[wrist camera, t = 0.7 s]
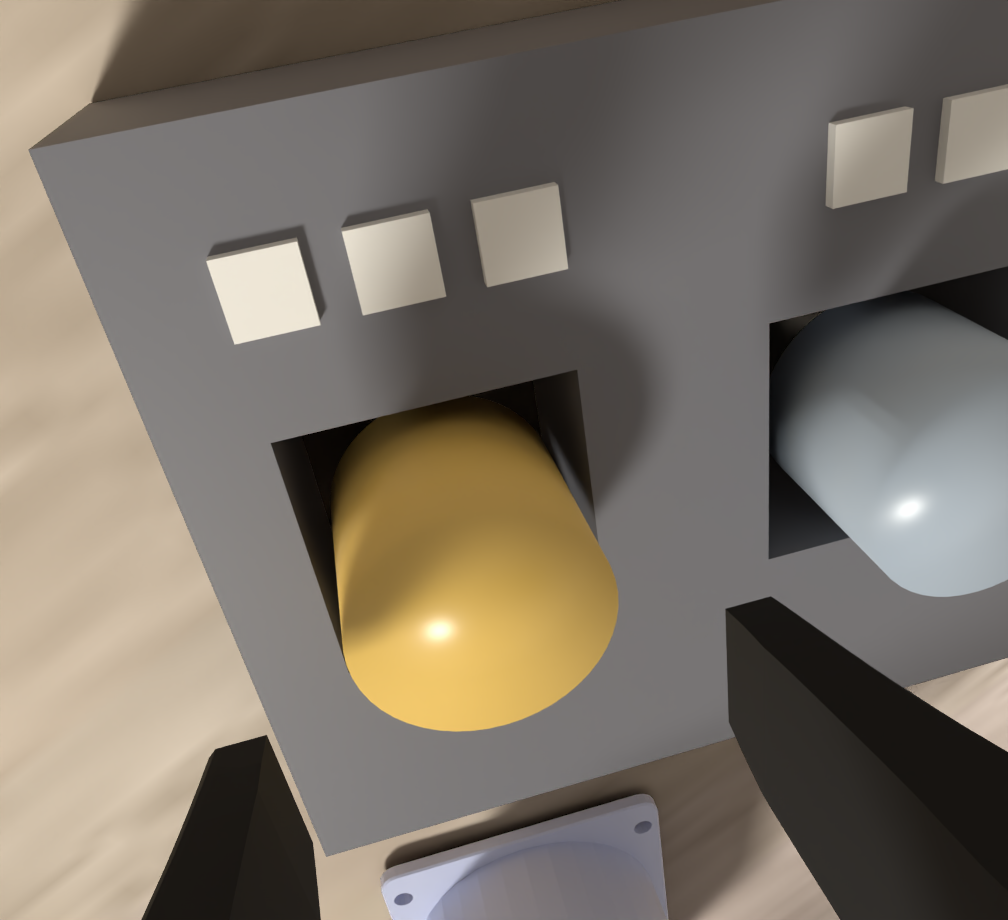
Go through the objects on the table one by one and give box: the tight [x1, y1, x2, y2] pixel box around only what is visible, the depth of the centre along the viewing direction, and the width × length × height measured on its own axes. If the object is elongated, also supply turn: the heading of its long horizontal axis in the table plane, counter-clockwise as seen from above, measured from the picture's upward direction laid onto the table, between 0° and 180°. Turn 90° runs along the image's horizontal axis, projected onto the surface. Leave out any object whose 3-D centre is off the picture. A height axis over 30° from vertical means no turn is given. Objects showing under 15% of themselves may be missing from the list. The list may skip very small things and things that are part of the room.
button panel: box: [29, 0, 1008, 857], centre depth 17 cm, size 14×24×4 cm, turn 99°
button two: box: [769, 290, 1008, 597], centre depth 15 cm, size 4×4×4 cm
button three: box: [330, 396, 619, 732], centre depth 14 cm, size 4×4×4 cm
